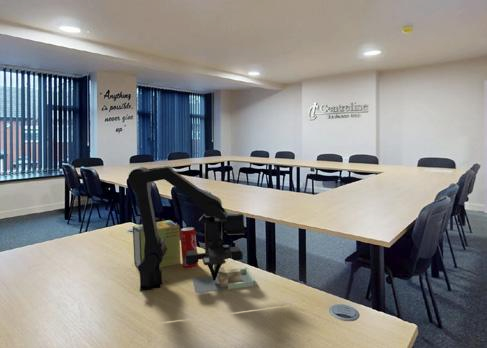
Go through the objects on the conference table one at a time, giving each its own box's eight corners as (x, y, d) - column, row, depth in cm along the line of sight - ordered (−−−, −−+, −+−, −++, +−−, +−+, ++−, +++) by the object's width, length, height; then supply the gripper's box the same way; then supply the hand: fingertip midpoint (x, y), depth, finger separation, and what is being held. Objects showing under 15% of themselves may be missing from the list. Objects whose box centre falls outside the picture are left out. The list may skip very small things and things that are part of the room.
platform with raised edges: (195, 294, 105) (195, 288, 105) (192, 278, 116) (192, 273, 116) (256, 287, 110) (256, 281, 109) (247, 272, 121) (247, 267, 121)
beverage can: (195, 270, 123) (194, 231, 122) (178, 269, 125) (177, 230, 123) (200, 264, 129) (199, 226, 128) (184, 263, 131) (183, 226, 129)
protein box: (181, 263, 130) (180, 225, 129) (142, 273, 122) (140, 231, 120) (171, 256, 139) (169, 219, 137) (133, 264, 130) (131, 225, 129)
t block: (220, 287, 109) (220, 276, 108) (216, 277, 116) (216, 267, 116) (242, 284, 110) (242, 274, 110) (237, 274, 118) (237, 265, 118)
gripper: (186, 244, 100) (188, 294, 102) (246, 239, 105) (247, 287, 106) (184, 234, 111) (185, 279, 113) (238, 230, 115) (239, 273, 117)
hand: (214, 279), depth 112 cm, fingers closed
